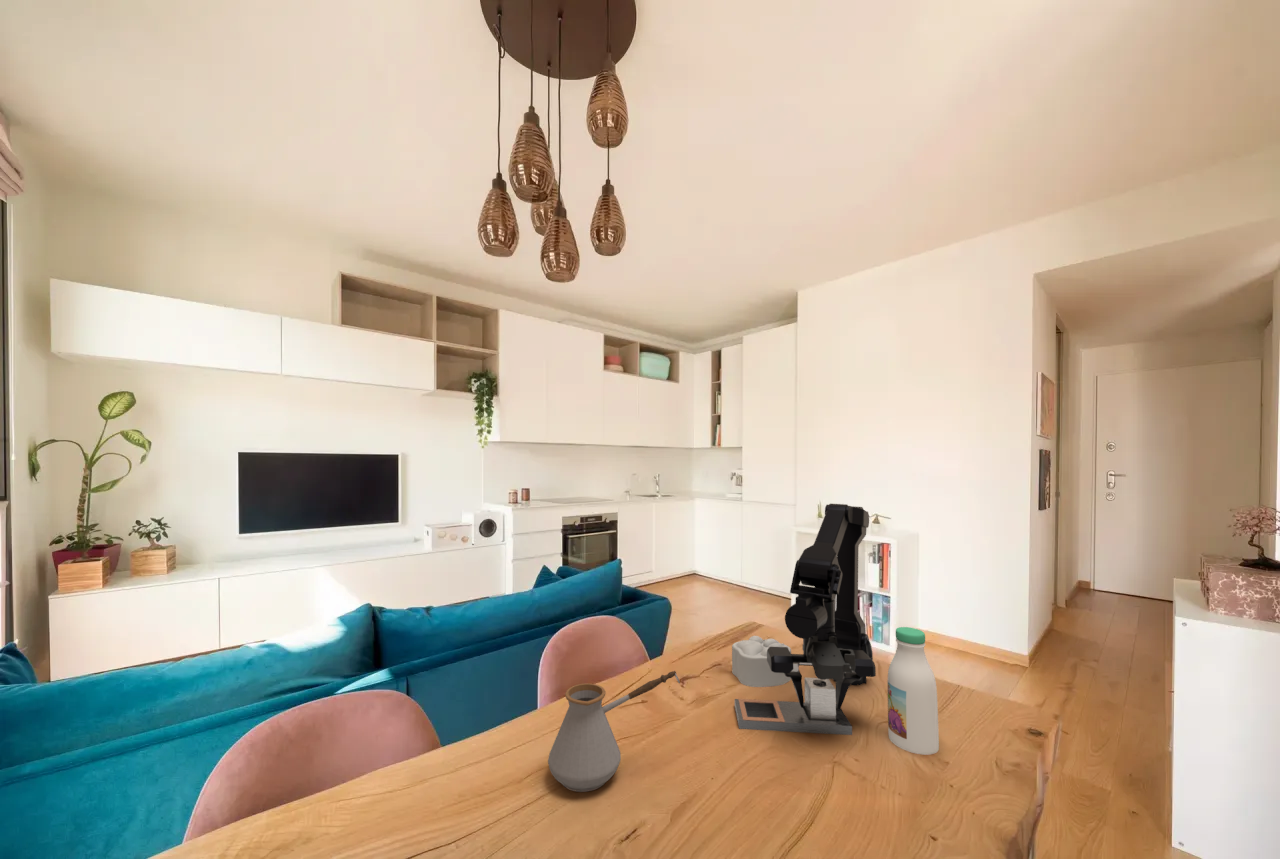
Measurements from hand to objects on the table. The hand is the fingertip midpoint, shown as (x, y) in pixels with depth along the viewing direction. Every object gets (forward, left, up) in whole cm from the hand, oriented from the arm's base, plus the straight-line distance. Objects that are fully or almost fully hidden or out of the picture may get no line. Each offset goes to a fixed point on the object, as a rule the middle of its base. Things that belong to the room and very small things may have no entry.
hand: (819, 707), depth 92 cm
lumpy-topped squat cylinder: (+8, -19, -4) cm, 21 cm away
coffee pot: (+37, +17, -4) cm, 40 cm away
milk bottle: (-14, +5, -4) cm, 16 cm away
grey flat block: (+6, 0, -4) cm, 7 cm away
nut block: (0, 0, -2) cm, 2 cm away
